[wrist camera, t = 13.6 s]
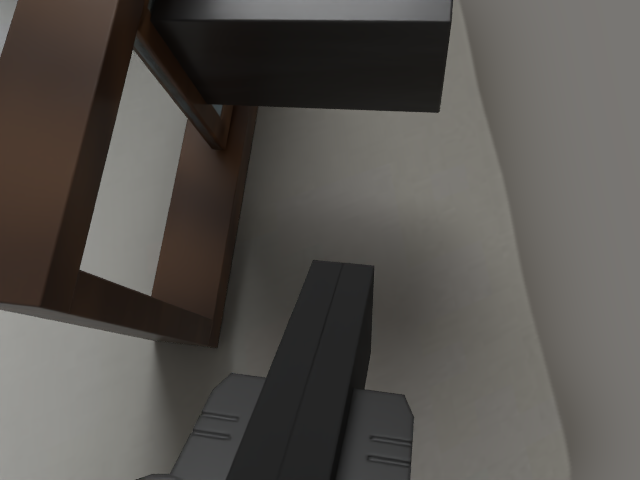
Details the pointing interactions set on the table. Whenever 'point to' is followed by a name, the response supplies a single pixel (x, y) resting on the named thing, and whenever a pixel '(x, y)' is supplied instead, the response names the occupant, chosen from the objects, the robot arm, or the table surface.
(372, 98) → the sliding pane
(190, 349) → the table surface
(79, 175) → the window frame
